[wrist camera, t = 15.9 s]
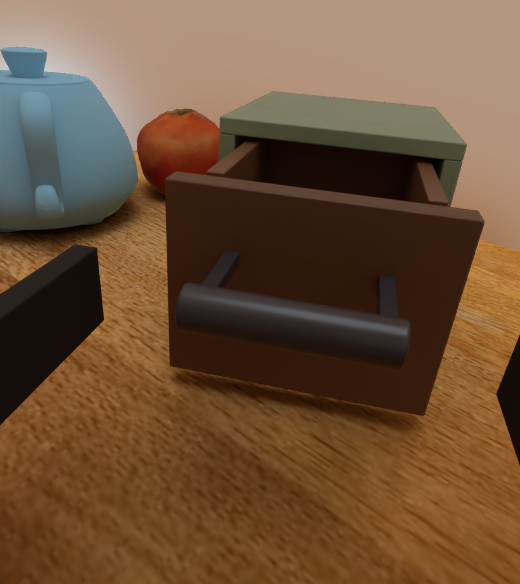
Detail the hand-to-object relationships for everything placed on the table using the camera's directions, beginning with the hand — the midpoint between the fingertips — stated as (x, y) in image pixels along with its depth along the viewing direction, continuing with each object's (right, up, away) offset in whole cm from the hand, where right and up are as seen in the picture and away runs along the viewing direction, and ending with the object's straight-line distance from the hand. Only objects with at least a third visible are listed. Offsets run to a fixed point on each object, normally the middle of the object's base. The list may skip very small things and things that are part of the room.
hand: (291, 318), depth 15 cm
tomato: (-9, +11, +34) cm, 37 cm away
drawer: (+1, -2, +10) cm, 10 cm away
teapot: (-21, +7, +26) cm, 34 cm away
